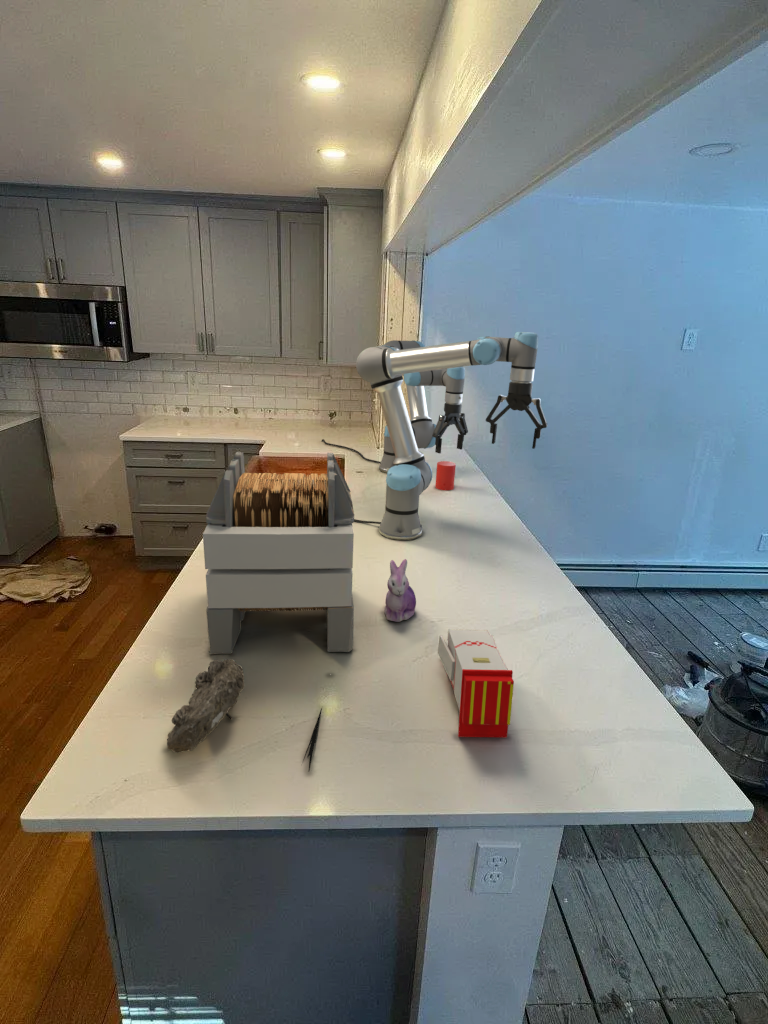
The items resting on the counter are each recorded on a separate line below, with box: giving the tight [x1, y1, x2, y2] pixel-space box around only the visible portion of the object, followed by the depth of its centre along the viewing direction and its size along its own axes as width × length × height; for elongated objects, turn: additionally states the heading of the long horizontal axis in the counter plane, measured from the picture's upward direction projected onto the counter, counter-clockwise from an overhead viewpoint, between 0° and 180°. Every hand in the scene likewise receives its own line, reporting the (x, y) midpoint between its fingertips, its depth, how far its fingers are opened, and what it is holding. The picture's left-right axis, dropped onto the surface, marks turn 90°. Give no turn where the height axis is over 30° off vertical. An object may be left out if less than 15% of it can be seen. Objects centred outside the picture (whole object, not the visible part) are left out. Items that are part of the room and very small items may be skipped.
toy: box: [437, 628, 515, 738], centre depth 117 cm, size 12×13×30 cm
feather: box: [301, 673, 332, 771], centre depth 108 cm, size 2×28×2 cm
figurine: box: [384, 558, 417, 623], centre depth 145 cm, size 9×10×15 cm
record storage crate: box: [202, 451, 355, 655], centre depth 137 cm, size 34×33×41 cm
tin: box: [434, 460, 457, 492], centre depth 252 cm, size 8×8×11 cm
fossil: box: [166, 658, 245, 754], centre depth 106 cm, size 22×10×15 cm
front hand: (513, 445), depth 192 cm, fingers open, 13 cm apart
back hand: (448, 450), depth 252 cm, fingers open, 13 cm apart
